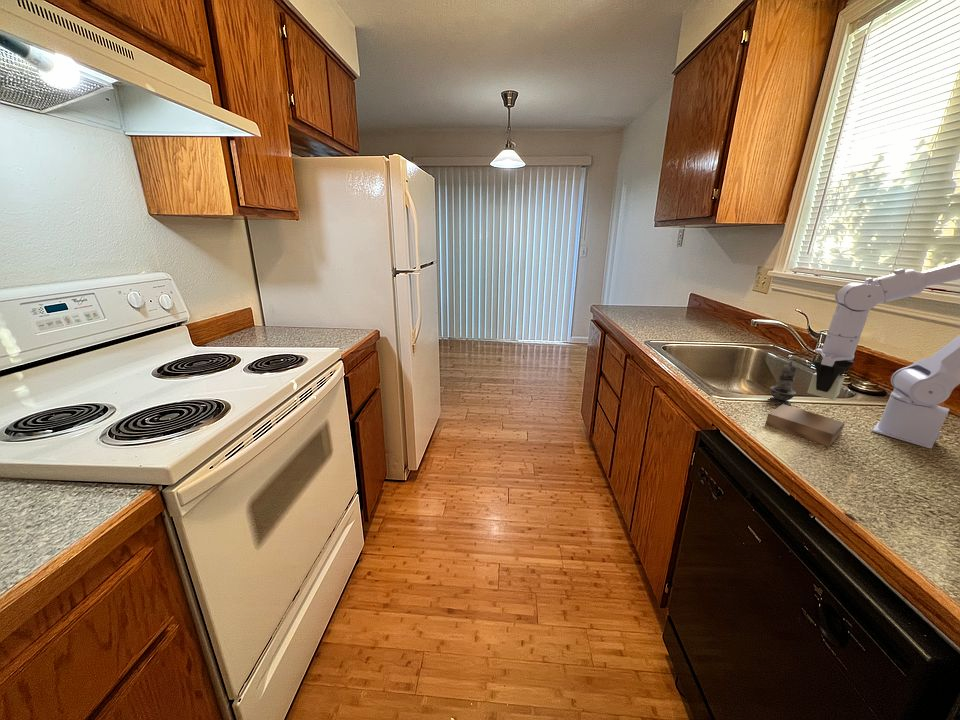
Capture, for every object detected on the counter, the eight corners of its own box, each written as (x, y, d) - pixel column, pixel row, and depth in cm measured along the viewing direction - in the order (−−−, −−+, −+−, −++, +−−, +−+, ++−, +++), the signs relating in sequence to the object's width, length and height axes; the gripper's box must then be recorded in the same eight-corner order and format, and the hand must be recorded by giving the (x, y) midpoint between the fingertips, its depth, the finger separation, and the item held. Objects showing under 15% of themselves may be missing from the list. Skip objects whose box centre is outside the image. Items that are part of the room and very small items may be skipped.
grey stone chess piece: (783, 398, 108) (795, 358, 105) (797, 407, 103) (811, 365, 99) (761, 397, 109) (773, 357, 105) (774, 405, 103) (787, 364, 100)
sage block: (838, 395, 94) (845, 376, 92) (833, 399, 91) (839, 380, 89) (813, 388, 97) (819, 370, 96) (807, 392, 95) (813, 374, 93)
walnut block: (840, 434, 89) (844, 422, 88) (828, 446, 83) (833, 434, 82) (779, 414, 98) (782, 404, 97) (765, 424, 92) (768, 413, 91)
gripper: (830, 328, 96) (813, 377, 101) (812, 335, 88) (795, 388, 92) (867, 334, 91) (848, 386, 95) (853, 342, 83) (833, 399, 87)
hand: (825, 388), depth 93 cm, fingers closed on sage block, 5 cm apart
